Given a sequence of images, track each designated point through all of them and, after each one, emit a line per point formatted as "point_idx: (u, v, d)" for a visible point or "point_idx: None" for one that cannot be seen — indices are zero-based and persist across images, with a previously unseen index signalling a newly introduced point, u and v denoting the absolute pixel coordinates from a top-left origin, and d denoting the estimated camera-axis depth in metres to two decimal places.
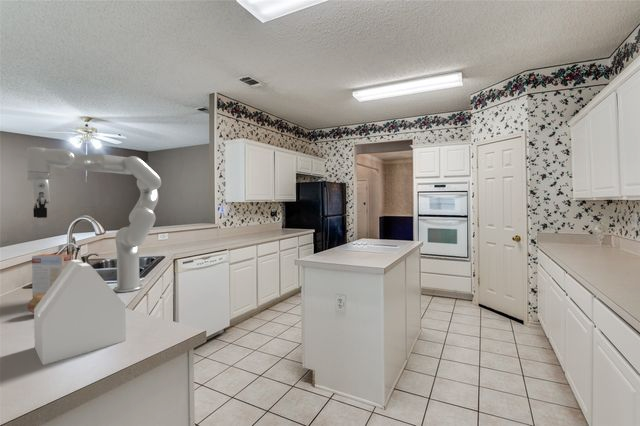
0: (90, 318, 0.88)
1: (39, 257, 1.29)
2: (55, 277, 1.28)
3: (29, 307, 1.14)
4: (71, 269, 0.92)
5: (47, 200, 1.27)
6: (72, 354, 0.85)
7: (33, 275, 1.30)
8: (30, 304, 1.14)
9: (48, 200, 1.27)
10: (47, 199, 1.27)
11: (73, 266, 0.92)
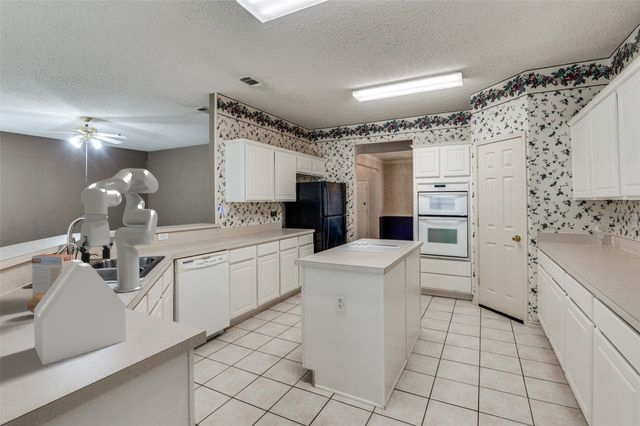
0: (90, 318, 0.88)
1: (39, 257, 1.29)
2: (55, 277, 1.28)
3: (29, 307, 1.14)
4: (71, 269, 0.92)
5: None
6: (72, 354, 0.85)
7: (33, 275, 1.30)
8: (30, 304, 1.14)
9: None
10: None
11: (73, 266, 0.92)
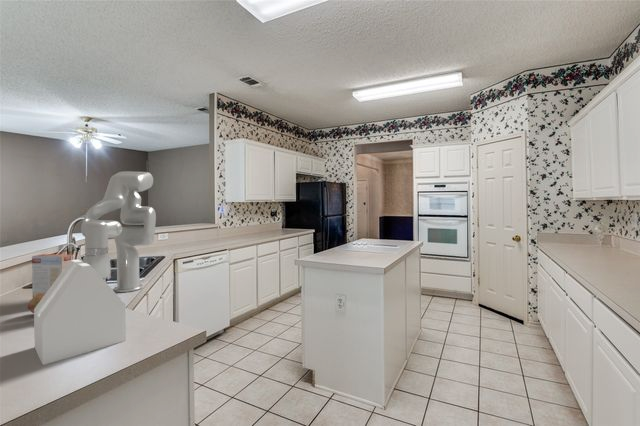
0: (90, 318, 0.88)
1: (39, 257, 1.29)
2: (55, 277, 1.28)
3: (29, 307, 1.14)
4: (71, 269, 0.92)
5: None
6: (72, 354, 0.85)
7: (33, 275, 1.30)
8: (30, 304, 1.14)
9: None
10: None
11: (73, 266, 0.92)
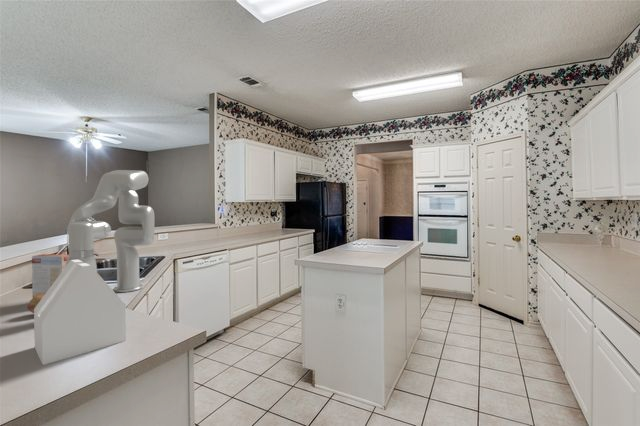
0: (90, 318, 0.88)
1: (39, 257, 1.29)
2: (55, 277, 1.28)
3: (29, 307, 1.14)
4: (71, 269, 0.92)
5: None
6: (72, 354, 0.85)
7: (33, 275, 1.30)
8: (30, 304, 1.14)
9: None
10: None
11: (73, 266, 0.92)
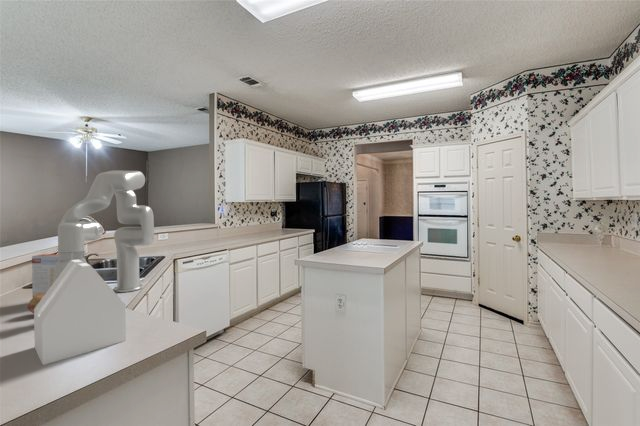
0: (90, 318, 0.88)
1: (39, 257, 1.29)
2: None
3: (29, 307, 1.14)
4: (71, 269, 0.92)
5: None
6: (72, 354, 0.85)
7: (33, 275, 1.30)
8: (30, 304, 1.14)
9: None
10: None
11: (73, 266, 0.92)
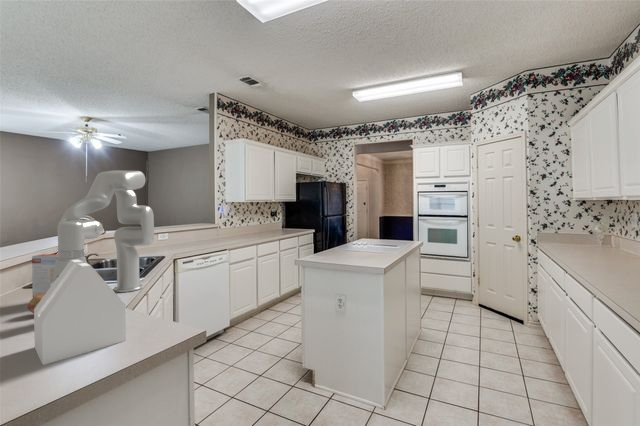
0: (90, 318, 0.88)
1: (39, 257, 1.29)
2: None
3: (29, 307, 1.14)
4: (71, 269, 0.92)
5: None
6: (72, 354, 0.85)
7: (33, 275, 1.30)
8: (30, 304, 1.14)
9: None
10: None
11: (73, 266, 0.92)
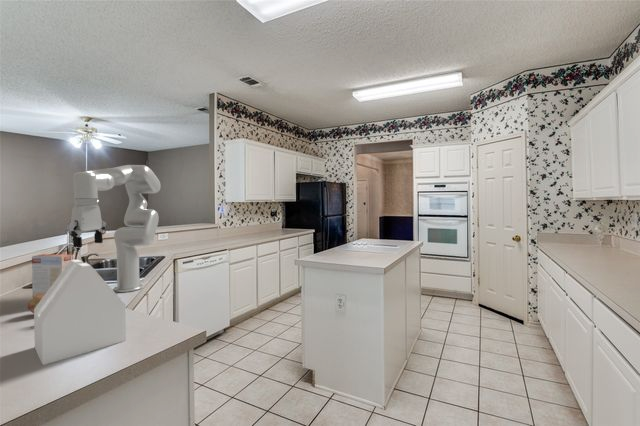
0: (90, 318, 0.88)
1: (39, 257, 1.29)
2: (55, 277, 1.28)
3: (29, 307, 1.14)
4: (71, 269, 0.92)
5: None
6: (72, 354, 0.85)
7: (33, 275, 1.30)
8: (30, 304, 1.14)
9: None
10: None
11: (73, 266, 0.92)
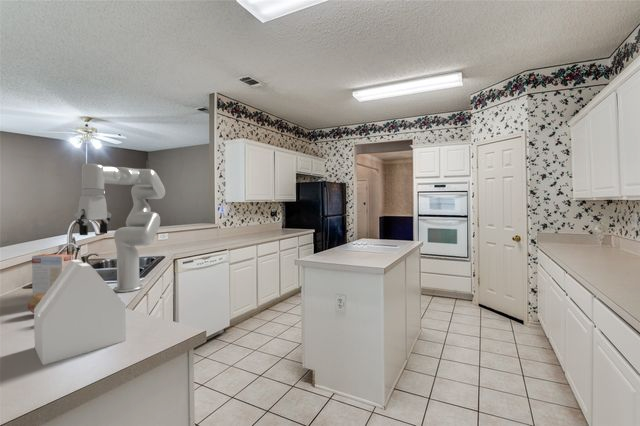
0: (90, 318, 0.88)
1: (39, 257, 1.29)
2: (55, 277, 1.28)
3: (29, 307, 1.14)
4: (71, 269, 0.92)
5: None
6: (72, 354, 0.85)
7: (33, 275, 1.30)
8: (30, 304, 1.14)
9: None
10: None
11: (73, 266, 0.92)
